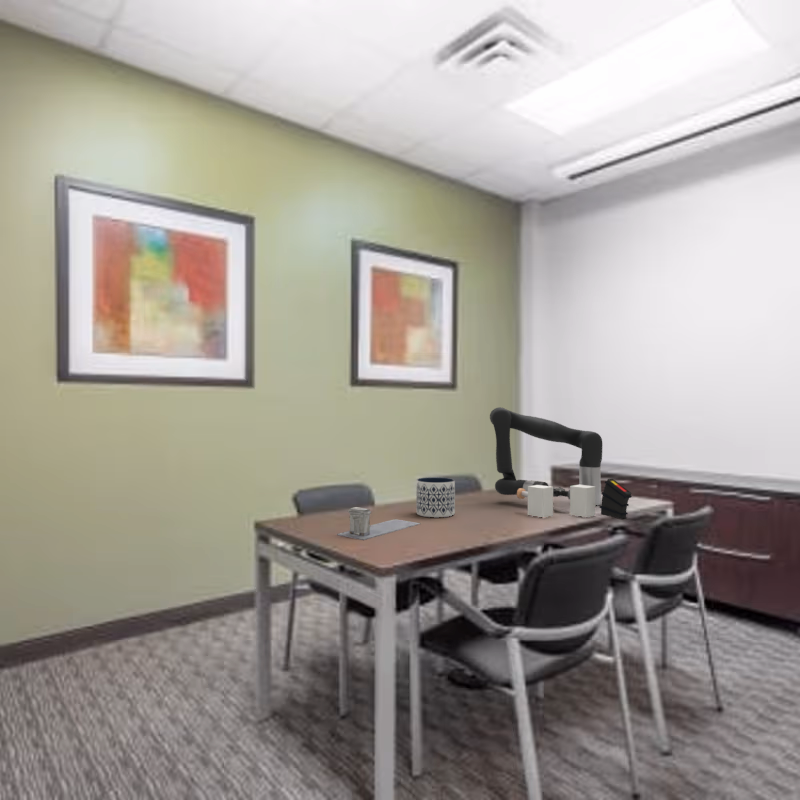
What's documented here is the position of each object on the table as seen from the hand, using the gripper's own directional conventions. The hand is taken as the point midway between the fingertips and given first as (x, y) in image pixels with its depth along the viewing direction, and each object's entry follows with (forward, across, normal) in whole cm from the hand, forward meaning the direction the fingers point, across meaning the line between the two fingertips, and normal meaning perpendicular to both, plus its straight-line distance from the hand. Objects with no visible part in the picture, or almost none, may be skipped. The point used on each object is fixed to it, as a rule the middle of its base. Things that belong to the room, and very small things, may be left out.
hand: (570, 494), depth 250 cm
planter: (-36, -44, +8) cm, 57 cm away
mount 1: (-5, -14, +8) cm, 17 cm away
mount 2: (+6, 0, +8) cm, 10 cm away
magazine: (+16, +8, +8) cm, 20 cm away
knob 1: (-11, -14, +2) cm, 18 cm away
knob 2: (+4, 0, +2) cm, 5 cm away
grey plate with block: (-29, -80, +9) cm, 85 cm away
